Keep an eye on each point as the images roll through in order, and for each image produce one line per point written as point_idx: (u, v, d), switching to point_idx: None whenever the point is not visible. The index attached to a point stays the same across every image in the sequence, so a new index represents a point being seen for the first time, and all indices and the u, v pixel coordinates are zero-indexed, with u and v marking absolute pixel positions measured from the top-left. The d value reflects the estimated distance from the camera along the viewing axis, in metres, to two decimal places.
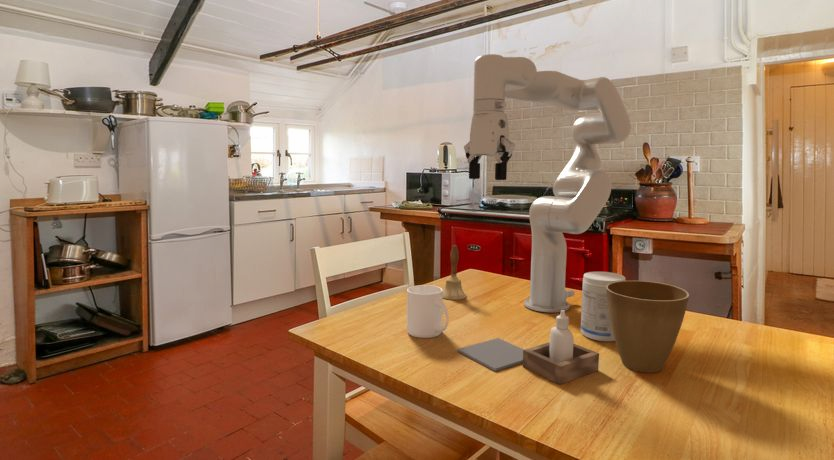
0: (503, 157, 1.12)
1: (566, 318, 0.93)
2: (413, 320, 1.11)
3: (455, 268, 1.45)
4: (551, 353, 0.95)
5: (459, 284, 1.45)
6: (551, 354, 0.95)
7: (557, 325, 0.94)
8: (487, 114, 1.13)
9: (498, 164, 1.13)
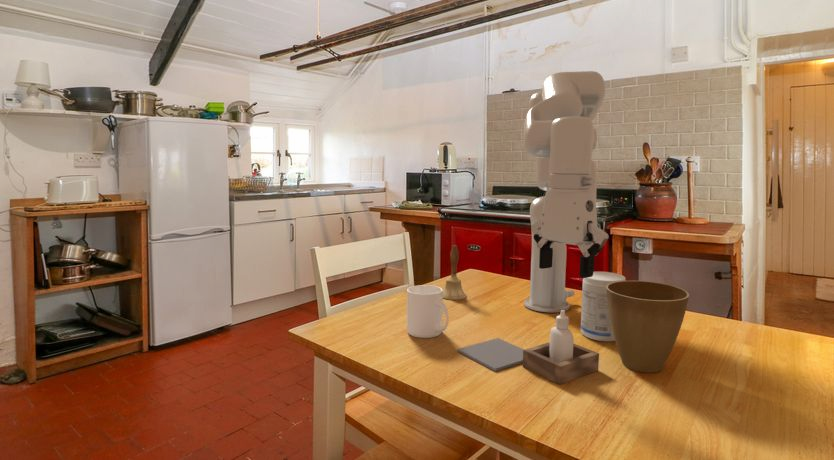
0: (592, 250, 0.86)
1: (566, 318, 0.93)
2: (413, 320, 1.11)
3: (455, 268, 1.45)
4: (551, 353, 0.95)
5: (459, 284, 1.45)
6: (551, 354, 0.95)
7: (557, 325, 0.94)
8: (570, 193, 0.87)
9: (584, 258, 0.87)
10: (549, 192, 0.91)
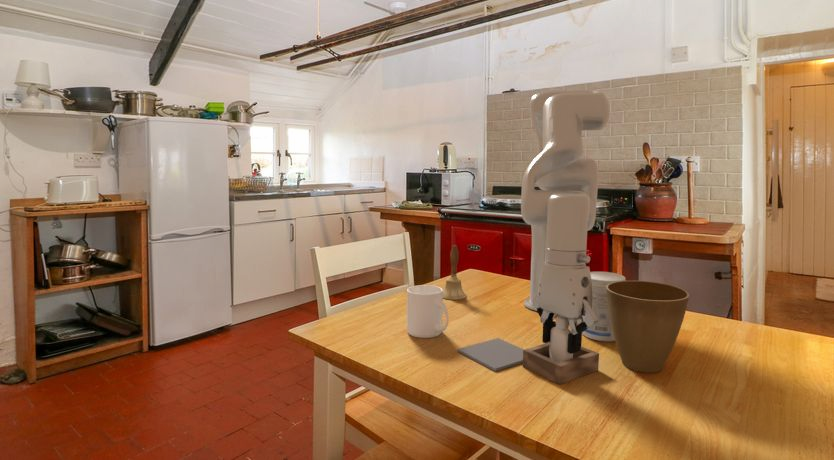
0: (579, 328, 0.90)
1: (566, 318, 0.93)
2: (413, 320, 1.11)
3: (455, 268, 1.45)
4: (551, 353, 0.95)
5: (459, 284, 1.45)
6: (551, 354, 0.95)
7: (557, 325, 0.93)
8: (566, 269, 0.89)
9: (572, 335, 0.91)
10: (546, 264, 0.93)
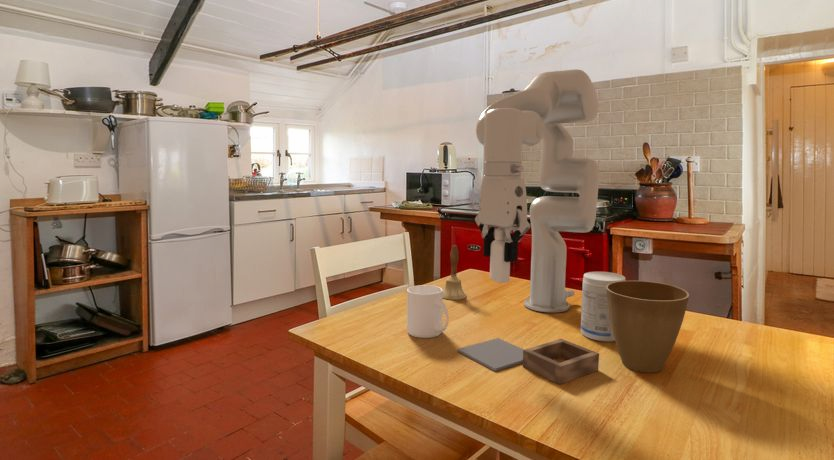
0: (514, 236, 0.94)
1: (504, 230, 0.97)
2: (413, 320, 1.11)
3: (455, 268, 1.45)
4: (491, 265, 0.99)
5: (459, 284, 1.45)
6: (490, 266, 1.00)
7: (495, 237, 0.98)
8: (501, 180, 0.94)
9: (508, 244, 0.95)
10: (484, 179, 0.98)
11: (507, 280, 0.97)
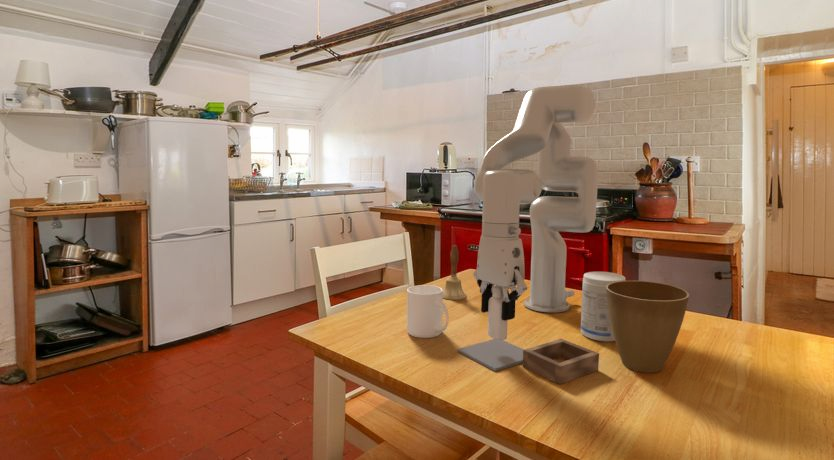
0: (511, 296, 0.96)
1: (501, 288, 0.99)
2: (413, 320, 1.11)
3: (455, 268, 1.45)
4: (488, 321, 1.01)
5: (459, 284, 1.45)
6: (488, 323, 1.01)
7: (493, 294, 0.99)
8: (499, 240, 0.95)
9: (505, 303, 0.97)
10: (483, 237, 0.99)
11: (504, 337, 0.99)
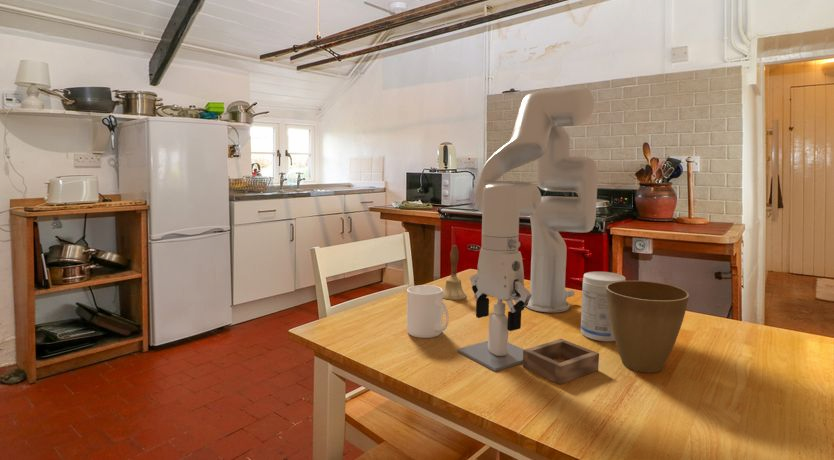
0: (517, 306, 0.94)
1: (502, 304, 1.00)
2: (413, 320, 1.11)
3: (455, 268, 1.45)
4: (489, 337, 1.02)
5: (459, 284, 1.45)
6: (489, 338, 1.02)
7: (494, 311, 1.00)
8: (498, 254, 0.96)
9: (511, 313, 0.96)
10: (482, 250, 1.00)
11: (504, 354, 0.99)
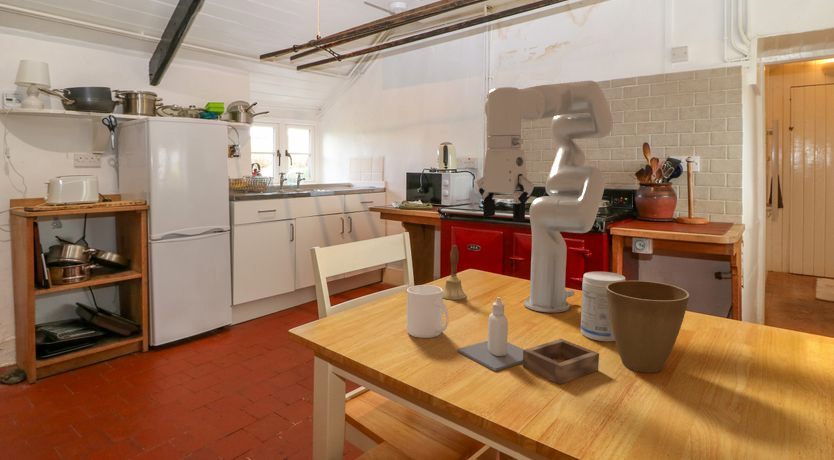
0: (522, 198, 1.05)
1: (501, 304, 1.00)
2: (413, 320, 1.11)
3: (455, 268, 1.45)
4: (488, 337, 1.02)
5: (459, 284, 1.45)
6: (488, 339, 1.02)
7: (493, 311, 1.00)
8: (503, 151, 1.06)
9: (516, 205, 1.06)
10: (488, 152, 1.10)
11: (504, 354, 0.99)
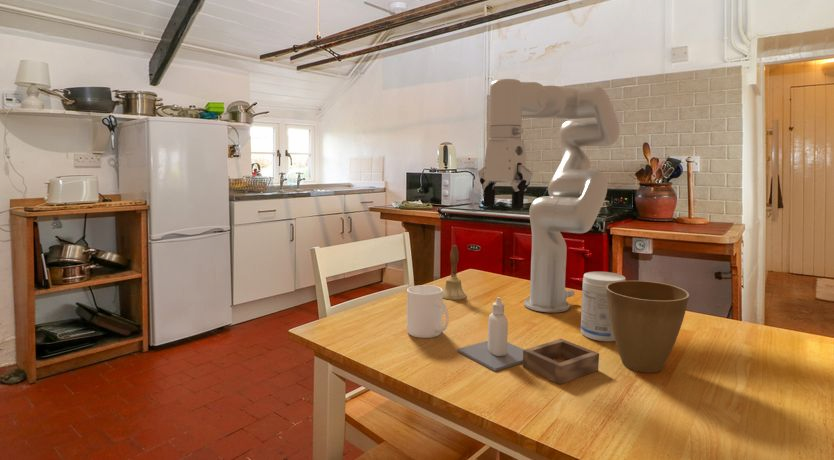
0: (520, 185, 1.08)
1: (501, 304, 1.00)
2: (413, 320, 1.11)
3: (455, 268, 1.45)
4: (488, 337, 1.02)
5: (459, 284, 1.45)
6: (488, 339, 1.02)
7: (493, 311, 1.00)
8: (503, 141, 1.09)
9: (515, 192, 1.09)
10: (489, 141, 1.13)
11: (504, 354, 0.99)
